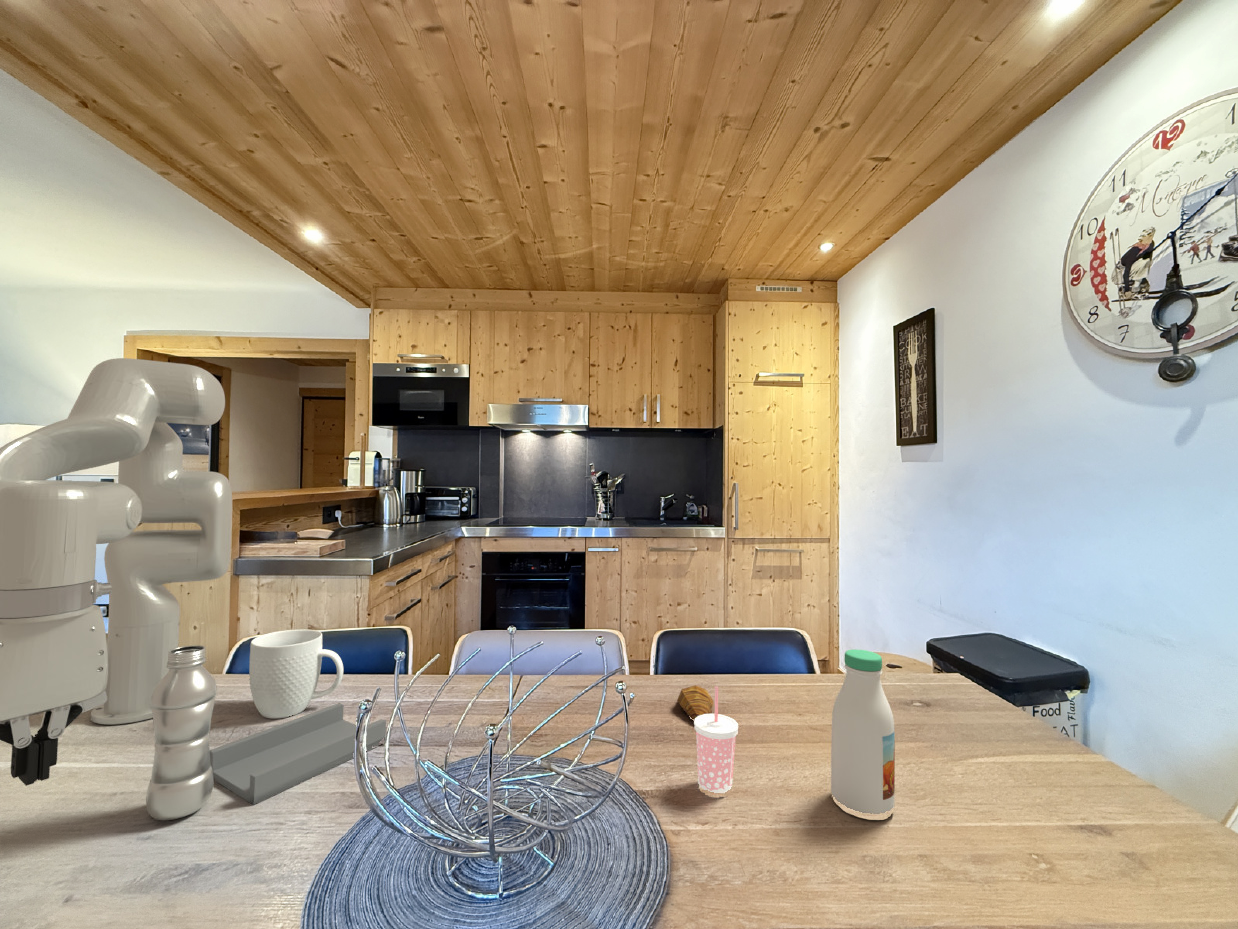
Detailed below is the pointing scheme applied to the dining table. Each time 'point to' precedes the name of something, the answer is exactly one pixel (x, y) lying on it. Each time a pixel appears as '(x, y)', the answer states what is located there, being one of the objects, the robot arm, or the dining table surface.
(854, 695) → the milk bottle
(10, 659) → the robot arm
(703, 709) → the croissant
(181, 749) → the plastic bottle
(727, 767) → the beverage cup
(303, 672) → the mug
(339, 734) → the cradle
